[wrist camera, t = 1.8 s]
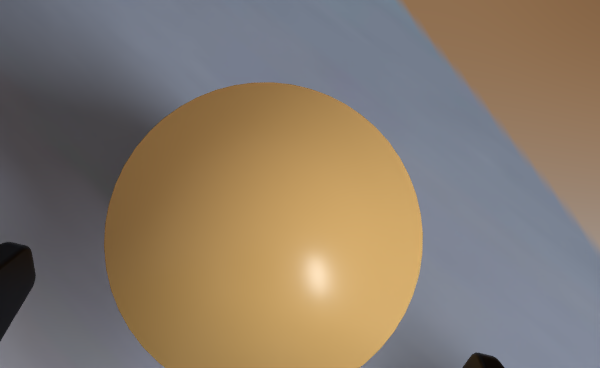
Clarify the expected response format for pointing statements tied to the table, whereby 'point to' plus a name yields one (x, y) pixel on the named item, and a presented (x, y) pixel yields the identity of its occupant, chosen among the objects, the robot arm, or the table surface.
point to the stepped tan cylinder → (263, 233)
